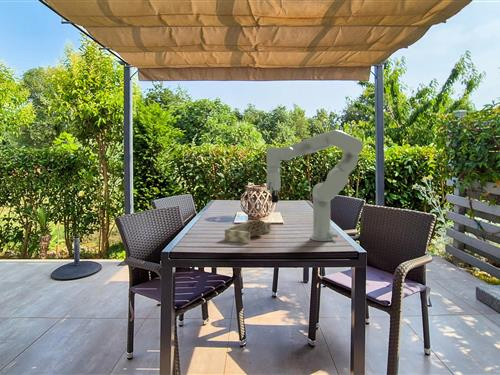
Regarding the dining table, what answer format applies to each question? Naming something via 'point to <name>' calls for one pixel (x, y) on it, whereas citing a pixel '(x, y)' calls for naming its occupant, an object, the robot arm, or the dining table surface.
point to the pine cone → (255, 227)
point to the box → (242, 232)
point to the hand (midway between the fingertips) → (274, 202)
